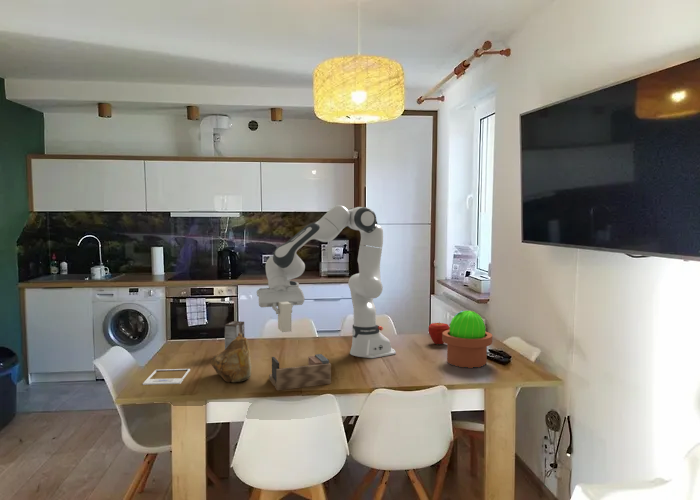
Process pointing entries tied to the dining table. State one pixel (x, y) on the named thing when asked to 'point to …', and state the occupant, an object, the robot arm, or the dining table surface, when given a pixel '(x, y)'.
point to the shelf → (301, 374)
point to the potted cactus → (467, 340)
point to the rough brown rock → (234, 361)
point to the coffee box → (233, 331)
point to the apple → (437, 331)
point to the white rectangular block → (284, 317)
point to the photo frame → (165, 381)
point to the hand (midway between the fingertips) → (284, 312)
